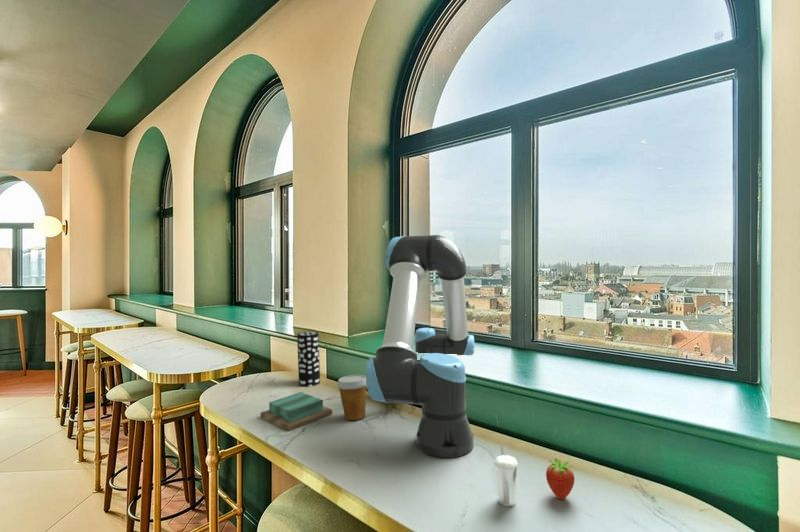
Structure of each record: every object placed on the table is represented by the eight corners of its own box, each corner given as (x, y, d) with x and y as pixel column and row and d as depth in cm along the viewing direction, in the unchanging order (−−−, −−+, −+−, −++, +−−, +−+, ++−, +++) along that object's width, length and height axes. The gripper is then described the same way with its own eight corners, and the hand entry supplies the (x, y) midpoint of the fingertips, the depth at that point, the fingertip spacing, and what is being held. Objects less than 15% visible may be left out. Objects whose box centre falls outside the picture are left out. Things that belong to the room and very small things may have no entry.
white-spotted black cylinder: (298, 381, 165) (296, 332, 164) (319, 379, 167) (317, 330, 167) (299, 387, 157) (297, 336, 156) (321, 385, 159) (319, 334, 159)
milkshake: (513, 492, 86) (512, 445, 85) (521, 508, 80) (520, 458, 80) (491, 493, 85) (490, 446, 85) (498, 509, 80) (497, 459, 80)
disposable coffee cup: (376, 413, 129) (373, 375, 129) (357, 424, 121) (354, 384, 121) (352, 409, 134) (350, 373, 134) (333, 420, 126) (330, 381, 126)
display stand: (332, 414, 130) (331, 399, 130) (288, 431, 118) (288, 415, 118) (303, 402, 141) (302, 389, 141) (260, 417, 129) (260, 402, 129)
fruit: (548, 503, 81) (548, 464, 81) (544, 489, 86) (543, 452, 86) (577, 506, 80) (576, 466, 80) (571, 491, 85) (570, 453, 85)
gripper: (436, 394, 138) (394, 413, 122) (384, 380, 155) (341, 395, 139) (436, 372, 138) (393, 388, 122) (384, 360, 155) (340, 373, 139)
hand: (365, 392), depth 131 cm, fingers open, 13 cm apart
